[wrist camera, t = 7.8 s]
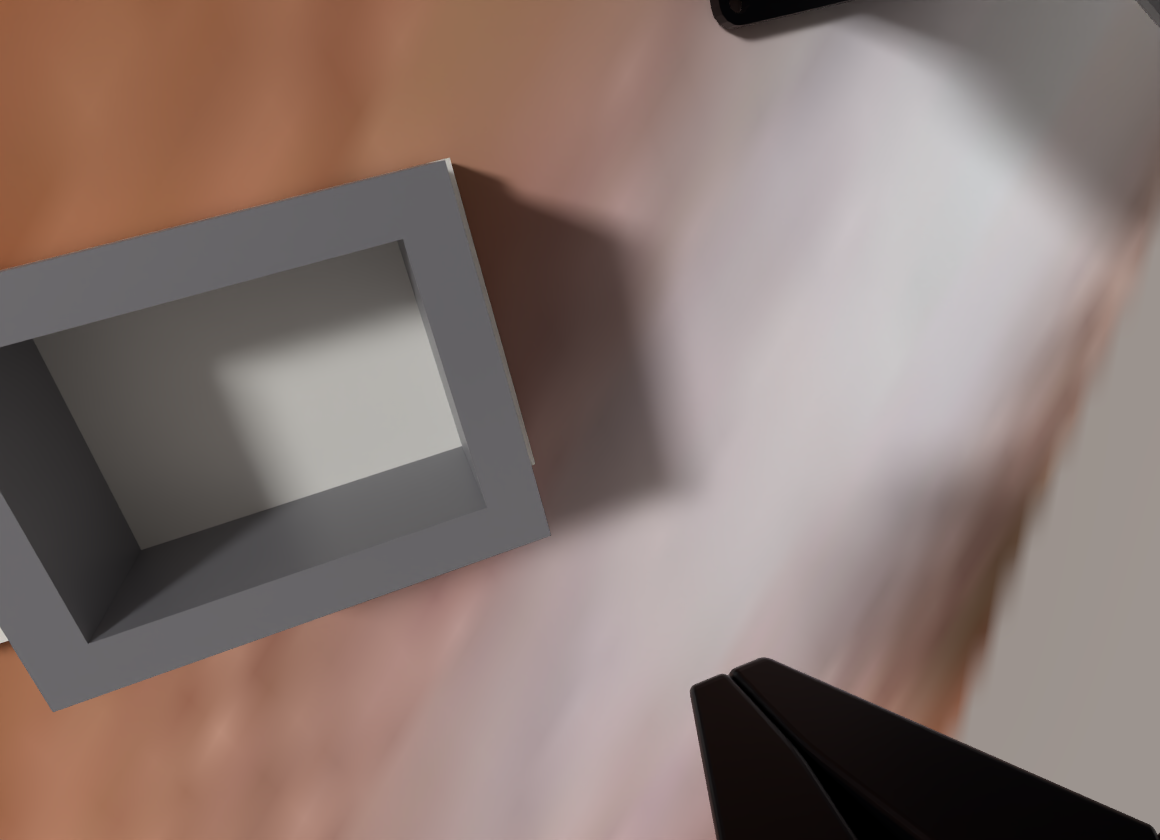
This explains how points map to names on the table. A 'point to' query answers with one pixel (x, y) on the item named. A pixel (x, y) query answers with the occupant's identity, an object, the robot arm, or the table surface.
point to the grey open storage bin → (249, 429)
